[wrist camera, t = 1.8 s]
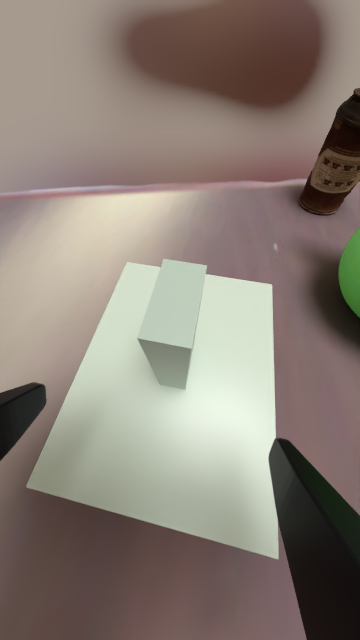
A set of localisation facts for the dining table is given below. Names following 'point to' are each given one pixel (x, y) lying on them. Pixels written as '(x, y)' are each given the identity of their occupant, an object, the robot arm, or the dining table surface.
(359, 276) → the toy bird
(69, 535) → the dining table surface
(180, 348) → the lid
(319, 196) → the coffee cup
